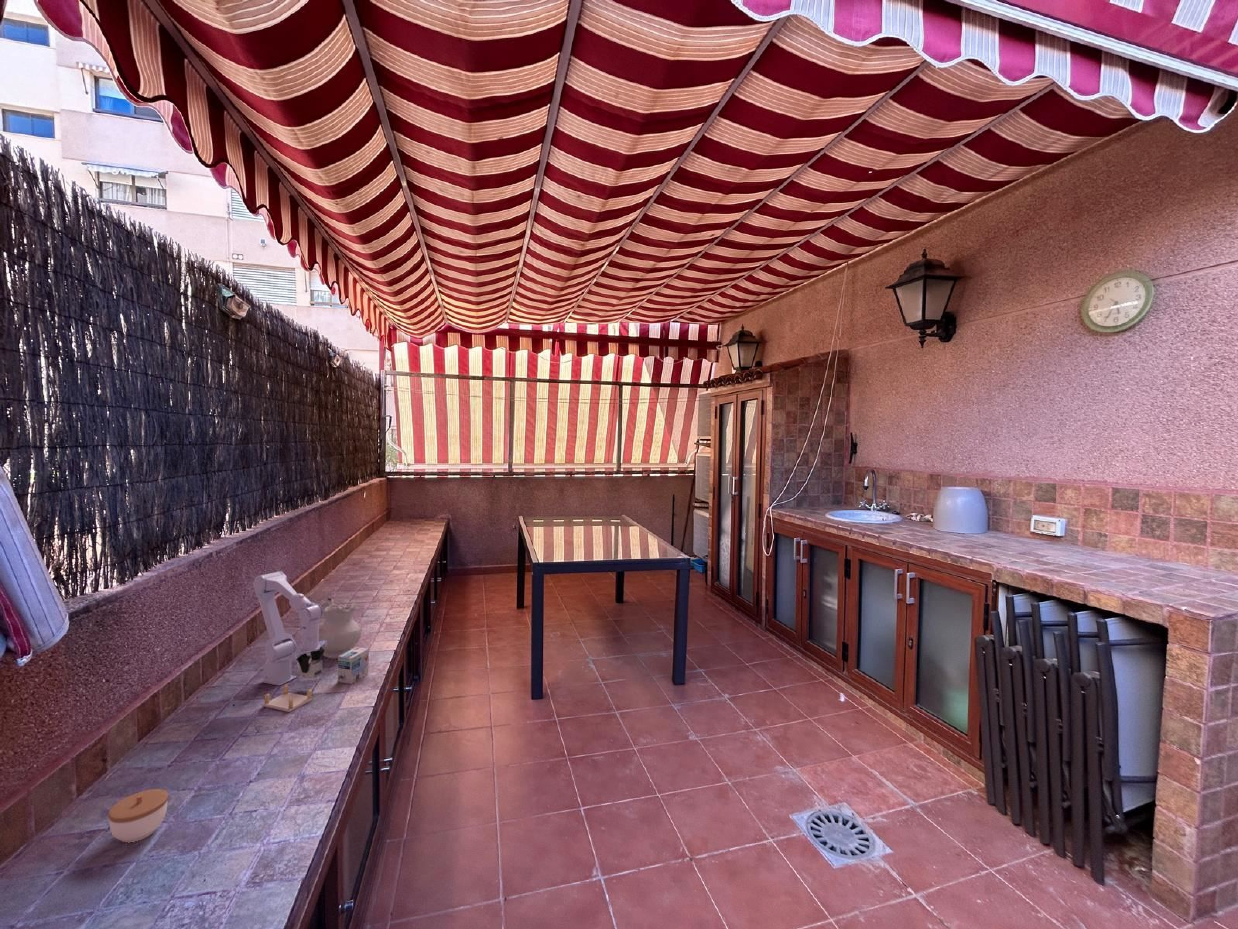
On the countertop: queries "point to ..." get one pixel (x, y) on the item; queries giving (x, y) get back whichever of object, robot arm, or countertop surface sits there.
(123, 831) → the lidded jar
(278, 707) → the wooden peg board
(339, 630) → the beige vase
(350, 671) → the light bulb box
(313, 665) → the mauve rectangular box
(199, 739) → the countertop surface
